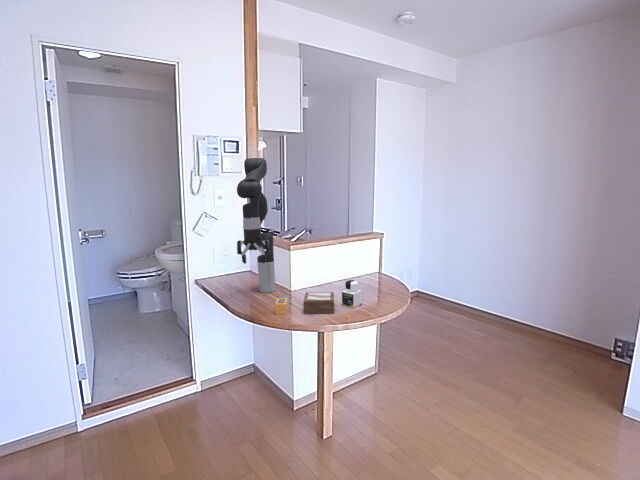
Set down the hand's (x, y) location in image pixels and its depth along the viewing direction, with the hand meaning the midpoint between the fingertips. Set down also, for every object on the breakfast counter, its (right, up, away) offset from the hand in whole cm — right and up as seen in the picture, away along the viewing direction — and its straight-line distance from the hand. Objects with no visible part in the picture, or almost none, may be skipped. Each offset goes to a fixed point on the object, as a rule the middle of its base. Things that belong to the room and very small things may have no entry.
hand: (254, 263), depth 168 cm
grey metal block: (+12, -22, +24) cm, 35 cm away
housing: (+11, -24, +12) cm, 29 cm away
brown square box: (+29, -23, +14) cm, 40 cm away
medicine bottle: (+45, -22, +18) cm, 53 cm away
